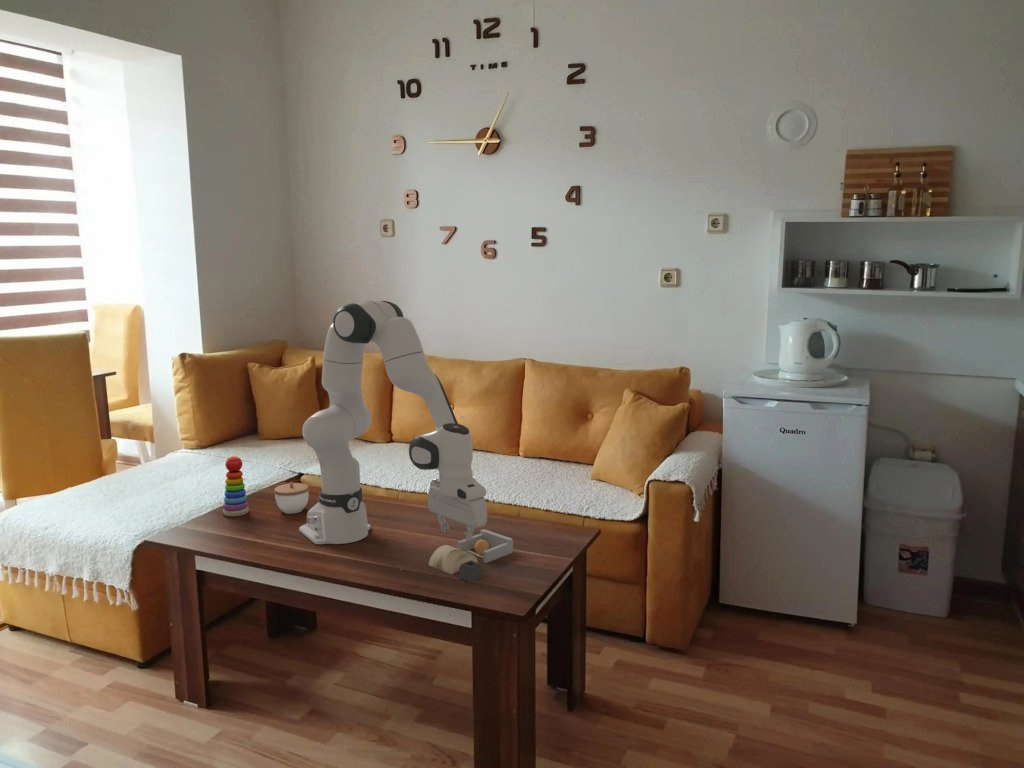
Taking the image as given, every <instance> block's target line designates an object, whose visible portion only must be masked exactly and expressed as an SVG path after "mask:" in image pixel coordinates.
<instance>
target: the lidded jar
mask: <svg viewBox="0 0 1024 768" xmlns="http://www.w3.org/2000/svg"><path fill="white" fill-rule="evenodd" d="M309 489H310V487H309V485H308V484H306V483H301V482H289V483H284V484H280V485H277V486H276V487H275V488H274V491H273V492H274V498H275V502H276V505H277V507H278V508H279V509H280V510H281V511H282V512H283V513H284V514H287V515H288V514H289V515H291V514H298V513H301V512H302V511H303V510H304V508H306V506H307V504H308V502H309V495H310V494H309Z"/></svg>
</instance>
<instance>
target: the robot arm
mask: <svg viewBox="0 0 1024 768" xmlns="http://www.w3.org/2000/svg"><path fill="white" fill-rule="evenodd" d="M369 343H374V344H376V345H377V346H378V347H379V349H380V353H381V356H382V360H383V364H384V367H385V371H386V374H387V377H388V378H389V379H388V380H389V381H390V383H391V384H392V385H394V386H395V387H396V388H397V389H399V390H402V391H405V392H408V393H412V394H414V395H417V396H418V397H420V398H421V399H422V400H423V401H424V402H425V403H426V406H427V409H428V411H429V413H430V415H431V418H432V421H433V423H434V425H435V430H433V431H432V430H431V431H429V432H425V433H422V434H419V435H417V436H414V437H413V438H412V439H411V441H410V443H409V447H408V457H409V459H410V461H411V463H412V464H413V466H414V467H415V468H417V469H419V470H422V471H423V470H424V471H425V470H426V471H429V470H437V471H438V473H439V474H438V475H439V476H438V477H439V478H433V479H432V480H431V481H430V485H429V487H430V488H429V490H428V495H427V508H428V511H429V512H431V513H433V514H437V520H438V523H439V524H440V531H442V532H449V530H450V523H448V522H447V519H450V520H452V521H455V522H458V523H460V524H463V525H466V526H465V527H466V529H467V530H466V532H464V533H463V540H464V539H465V540H468V541H469V540H472V538H473V536H474V535H473V534H474V532H475V530H476V529H478V528H482V527H484V526H485V525H486V524H487V521H488V504H487V501H486V499H485V496H487V489H486V488H485V487H484V485H483V484H481V483H480V482H478V481H477V480H476V479H475V478H474V476H473V475H474V474H473V473H474V472H473V470H472V463H473V452H474V451H473V439H472V434H471V432H470V429H469V428H468V427H467V426H465V425H463V424H461V423H459V422H458V420H457V418H456V415H455V413H454V411H453V408H452V406H451V403H450V401H449V397H448V396H447V393H446V391H445V388H444V386H443V384H442V382H441V380H440V378H439V376H437V374H436V373H434V372H433V370H432V368H431V367H430V365H429V362H428V360H427V358H426V355H425V351H424V348H423V345H422V342H421V339H420V337H419V335H418V332H417V330H416V328H415V326H414V324H413V322H412V321H411V320H410V319H408V318H406V317H405V316H404V314H403V311H402V309H401V308H400V307H399V306H398V305H397V304H395V303H394V302H391V301H389V300H388V301H387V300H380V301H379V300H366V301H360V302H356V303H354V302H353V303H351V302H350V303H348V304H345V305H343V306H341V307H339V308H338V309H337V310H336V311H335V313H334V315H333V318H332V324H330V326H329V328H328V331H327V334H326V338H325V342H324V349H323V358H322V369H321V370H322V372H321V384H322V388H324V390H325V391H326V392H327V394H328V399H329V406H328V408H325V409H321V410H319V411H317V412H315V413H314V414H312V415H311V416H309V417H308V418H307V419H306V420H305V421H304V423H303V425H302V430H301V431H302V432H301V433H302V436H303V437H302V438H303V440H304V442H305V443H306V444H307V445H308V446H309V447H310V448H311V449H312V450H314V453H315V455H316V458H317V460H318V463H319V468H320V478H321V479H320V480H321V489H319V490H317V492H318V493H317V495H319V496H318V502H317V503H315V504H314V505H313V506H312V507H311V508H310V509H309V510H307V512H306V513H307V514H306V523H304V524H303V525H301V526H299V528H298V531H299V532H300V533H301V534H303V536H305V537H306V538H307V539H309V540H310V541H311V542H312V543H314V544H315V545H325V544H326V545H327V544H331V545H340V544H341V545H342V544H349V543H354V542H355V543H356V542H358V541H361V540H363V539H365V538H366V537H368V535H369V531H370V530H371V529H372V528H371V524H369V523H368V517H367V510H366V504H365V503H364V501H363V494H364V493H363V487H362V486H361V476H360V475H361V473H360V471H361V470H360V469H361V468H360V462H359V461H358V460H357V459H356V458H355V457H354V456H353V455H352V452H351V449H350V441H352V440H355V439H357V438H359V437H361V436H362V435H363V434H364V433H365V432H367V431H368V429H370V427H371V424H372V414H371V411H370V409H369V408H368V406H367V405H366V404H365V401H364V397H363V391H362V383H363V382H362V379H363V378H362V377H363V365H364V364H363V362H364V350H365V346H366V345H367V344H369Z"/></svg>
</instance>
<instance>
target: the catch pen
mask: <svg viewBox="0 0 1024 768" xmlns="http://www.w3.org/2000/svg"><path fill="white" fill-rule="evenodd" d="M481 539H483V540H486V541H487V542H488V544H489V549H488V550H485V551H483V554H482V555H483V559H482V562H483V563H485V564H487V563H490V562H492V561H495V560H498V559H499V558H504V557H505V556H507V555H511V554H513V553H514V544H513V543H514V542H513V541H514V539H513V538H511V537H508V536H505V535H502V534H499V533H497V532H493V531H490V530H488V529H486V528H485V529H484V528H483V529H480V530H479V534H475V535H473V538H472V540H469V541H468V540H465V539H464V538H463V539H461V540H458V541H457V547H456V548H457V549H459V550H462V551H465V552H466V551H467V550H470V551H471V550H472V549H475V543H476V542H477V541H478V540H481Z"/></svg>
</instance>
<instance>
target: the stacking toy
mask: <svg viewBox="0 0 1024 768" xmlns="http://www.w3.org/2000/svg"><path fill="white" fill-rule="evenodd" d="M242 467H243V461H242V459H241V458H240V457H238V456H230V457H228V458H227V459H226V461H225V468H226V470H227V472H226V473H225V477H226V478H225V481H224V482H225V487H224V488H225V491H224V493H223V494H224V496H225V497H224V498H223V504H222V507H223V510H222V513H223V515H224V516H225V517H240V516H244V515H246V514H248V513H249V511H250V508H249V506H248V503H249V502H248V501H247V500H248V496H247V494H246V492H247V491H246V489H245V487H246V484H245V483H244V478H243V474H244V473H243V471H242V470H241V469H242Z"/></svg>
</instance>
